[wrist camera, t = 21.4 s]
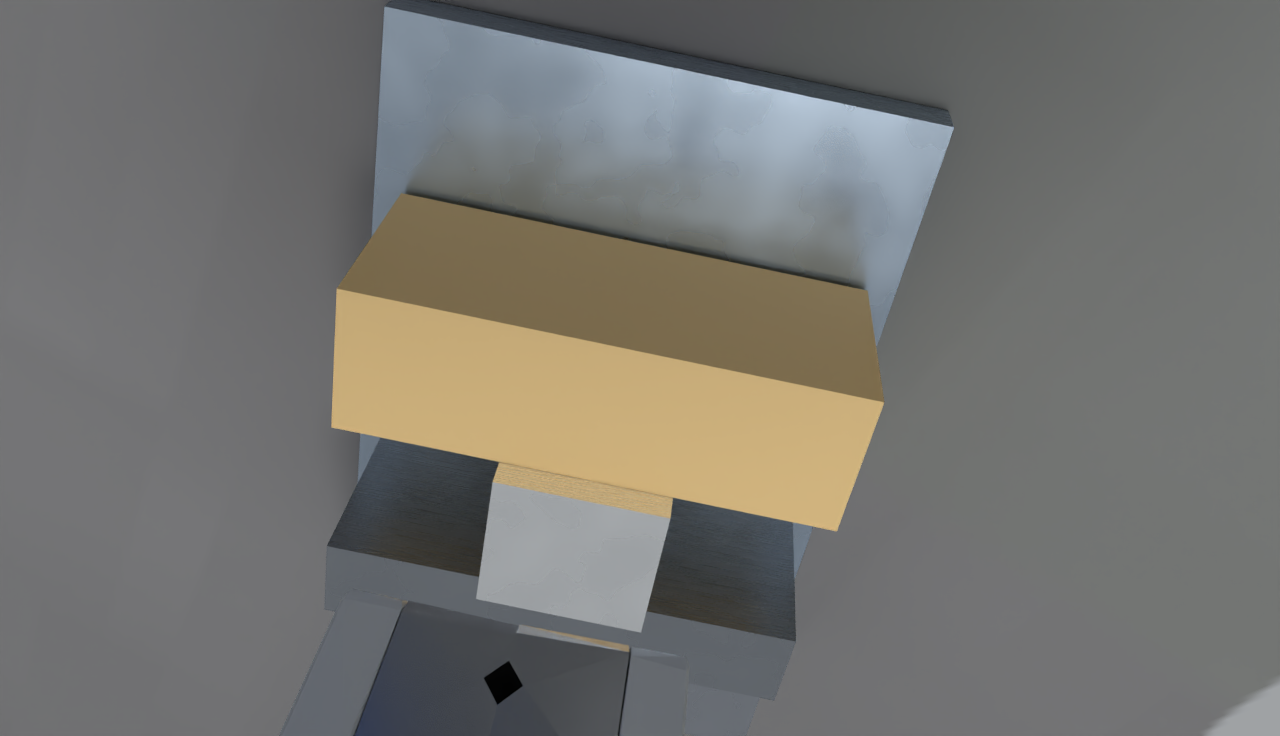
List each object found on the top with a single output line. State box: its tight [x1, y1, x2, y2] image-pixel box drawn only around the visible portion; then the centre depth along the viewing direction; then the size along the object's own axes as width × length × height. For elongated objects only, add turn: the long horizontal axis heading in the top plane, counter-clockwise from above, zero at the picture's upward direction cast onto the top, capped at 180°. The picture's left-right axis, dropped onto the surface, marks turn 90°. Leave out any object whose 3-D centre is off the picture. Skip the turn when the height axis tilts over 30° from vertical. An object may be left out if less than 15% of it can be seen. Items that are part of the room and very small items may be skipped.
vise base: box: [324, 0, 954, 736], centre depth 40 cm, size 25×18×8 cm
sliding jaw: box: [331, 193, 884, 531], centre depth 37 cm, size 5×16×7 cm, turn 80°
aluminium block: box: [476, 462, 673, 633], centre depth 39 cm, size 5×6×8 cm
